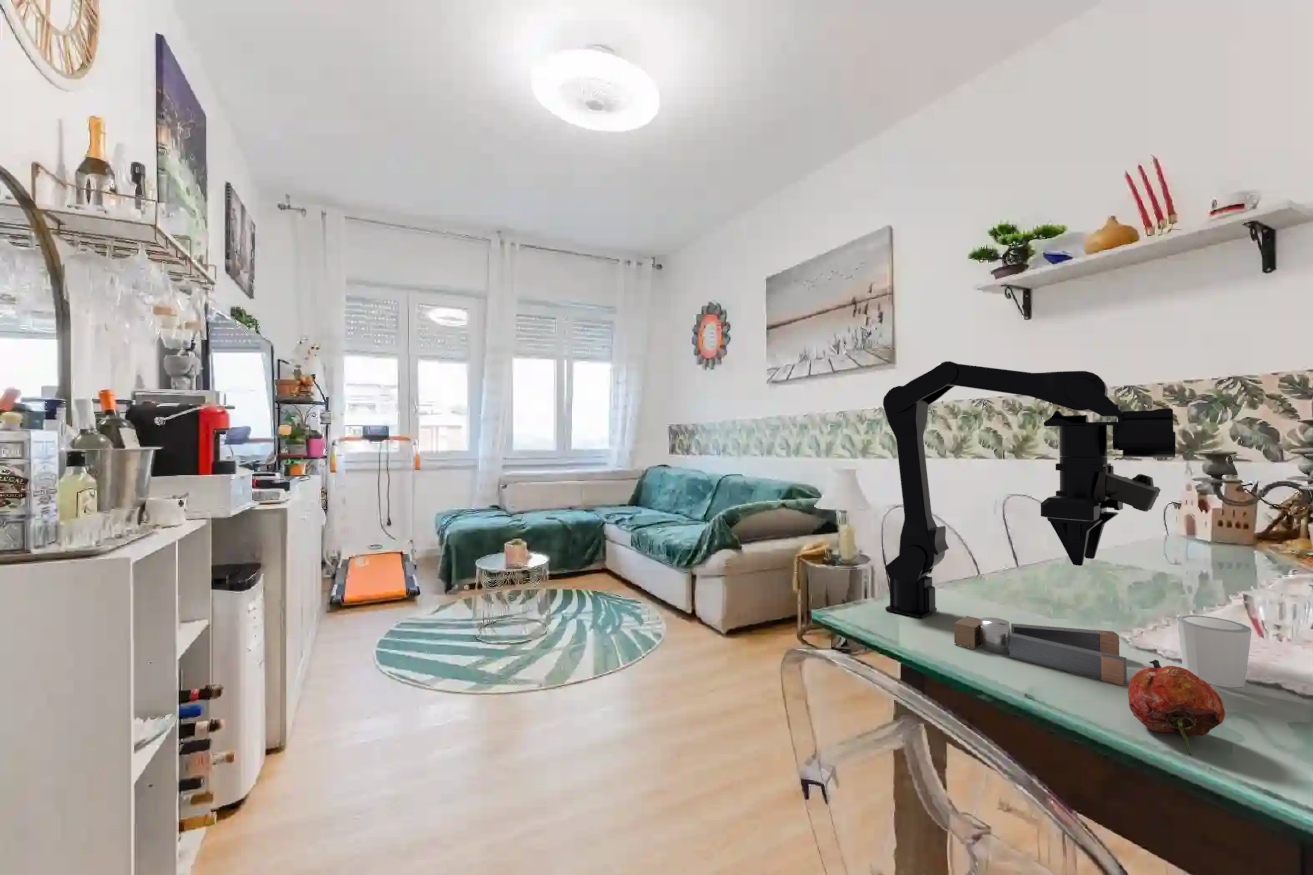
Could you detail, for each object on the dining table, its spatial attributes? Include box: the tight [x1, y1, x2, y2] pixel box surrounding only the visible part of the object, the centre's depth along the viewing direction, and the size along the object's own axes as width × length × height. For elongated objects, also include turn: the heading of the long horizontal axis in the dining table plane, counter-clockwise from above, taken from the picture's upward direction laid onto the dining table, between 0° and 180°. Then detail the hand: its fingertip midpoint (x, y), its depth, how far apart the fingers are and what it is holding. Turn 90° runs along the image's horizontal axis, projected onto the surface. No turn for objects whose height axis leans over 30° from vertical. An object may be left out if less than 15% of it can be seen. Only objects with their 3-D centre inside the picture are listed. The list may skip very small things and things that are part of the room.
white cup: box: [1176, 614, 1253, 689], centre depth 73 cm, size 7×7×7 cm
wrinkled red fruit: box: [1127, 659, 1226, 756], centre depth 59 cm, size 7×7×10 cm
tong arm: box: [1010, 623, 1120, 656], centre depth 81 cm, size 12×2×3 cm, turn 71°
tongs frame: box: [953, 615, 1128, 687], centre depth 79 cm, size 20×5×4 cm, turn 41°
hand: (1084, 561), depth 85 cm, fingers open, 6 cm apart
